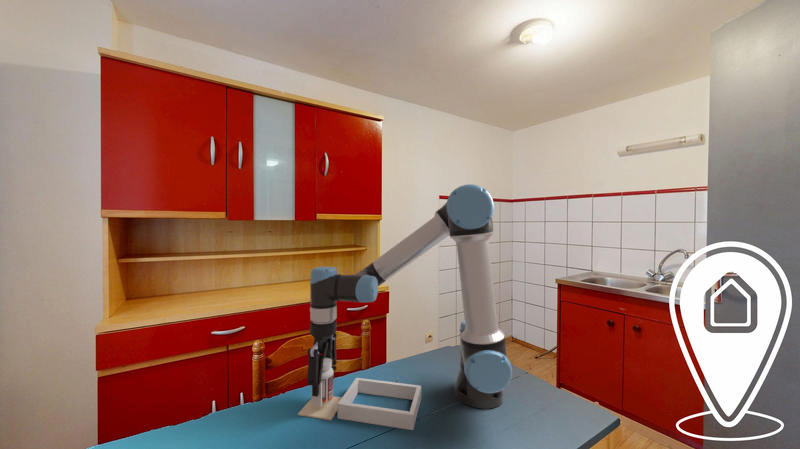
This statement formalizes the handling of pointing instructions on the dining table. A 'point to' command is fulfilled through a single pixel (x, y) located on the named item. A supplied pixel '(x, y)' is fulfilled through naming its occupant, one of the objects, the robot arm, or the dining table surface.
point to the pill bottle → (327, 381)
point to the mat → (321, 409)
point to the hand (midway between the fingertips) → (322, 398)
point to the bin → (380, 414)
